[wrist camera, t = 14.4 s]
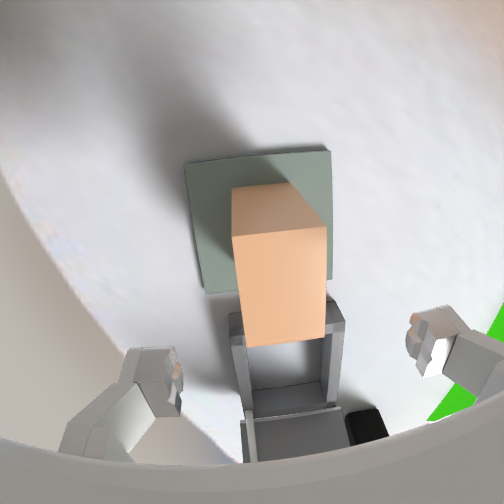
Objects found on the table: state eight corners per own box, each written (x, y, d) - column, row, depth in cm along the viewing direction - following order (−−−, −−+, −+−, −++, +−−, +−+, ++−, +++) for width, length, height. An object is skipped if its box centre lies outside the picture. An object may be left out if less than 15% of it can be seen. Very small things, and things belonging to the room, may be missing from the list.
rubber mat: (184, 164, 21) (183, 165, 20) (328, 150, 21) (330, 151, 21) (206, 290, 25) (205, 294, 25) (330, 275, 25) (332, 279, 25)
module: (231, 188, 21) (231, 236, 13) (290, 182, 21) (326, 226, 13) (241, 267, 24) (246, 347, 16) (294, 261, 24) (324, 337, 16)
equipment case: (223, 314, 26) (221, 482, 13) (340, 299, 26) (412, 446, 13) (243, 419, 32) (251, 539, 19) (330, 407, 33) (363, 520, 19)
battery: (336, 440, 36) (353, 501, 27) (346, 412, 33) (368, 480, 24) (365, 435, 36) (386, 493, 27) (378, 406, 34) (405, 470, 25)
